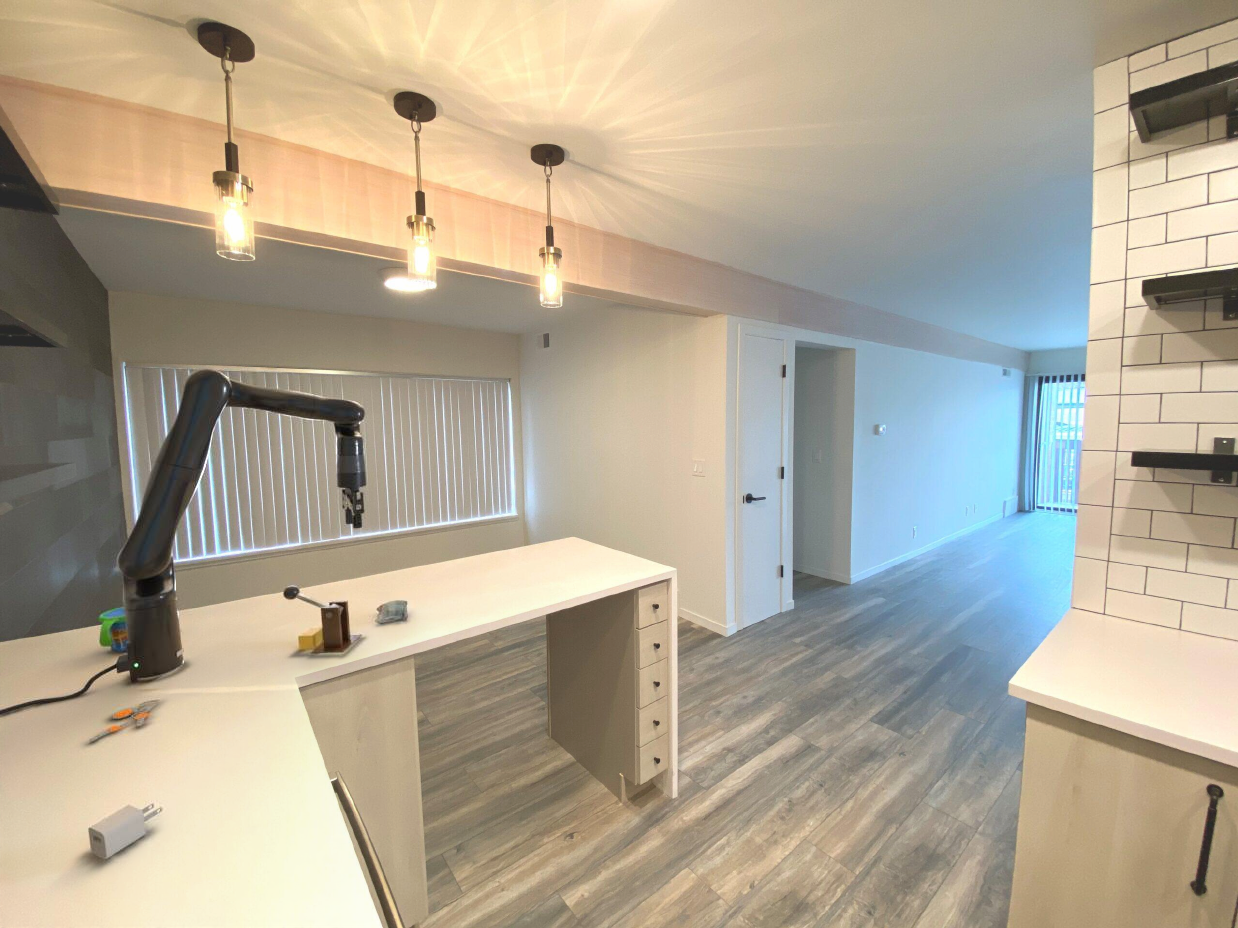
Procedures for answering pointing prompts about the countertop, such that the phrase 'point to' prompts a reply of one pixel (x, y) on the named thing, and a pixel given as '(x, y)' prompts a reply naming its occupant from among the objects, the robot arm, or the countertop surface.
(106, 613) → the snack cup
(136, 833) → the usb wall charger
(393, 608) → the packaged food
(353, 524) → the robot arm
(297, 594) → the ball-knob lever
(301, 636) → the butter
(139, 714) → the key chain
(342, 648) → the brown lever base bracket
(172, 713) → the countertop surface
